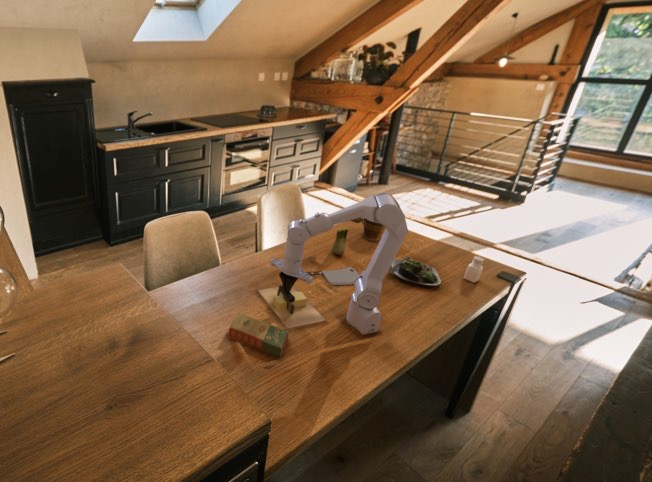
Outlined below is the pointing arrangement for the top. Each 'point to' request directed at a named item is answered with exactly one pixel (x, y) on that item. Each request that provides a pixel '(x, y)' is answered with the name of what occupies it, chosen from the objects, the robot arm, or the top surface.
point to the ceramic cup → (372, 229)
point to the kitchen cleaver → (338, 276)
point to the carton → (258, 334)
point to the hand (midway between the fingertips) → (286, 291)
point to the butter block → (299, 299)
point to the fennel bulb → (339, 242)
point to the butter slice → (279, 303)
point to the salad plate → (415, 273)
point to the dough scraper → (287, 297)
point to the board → (292, 310)
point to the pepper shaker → (474, 269)
